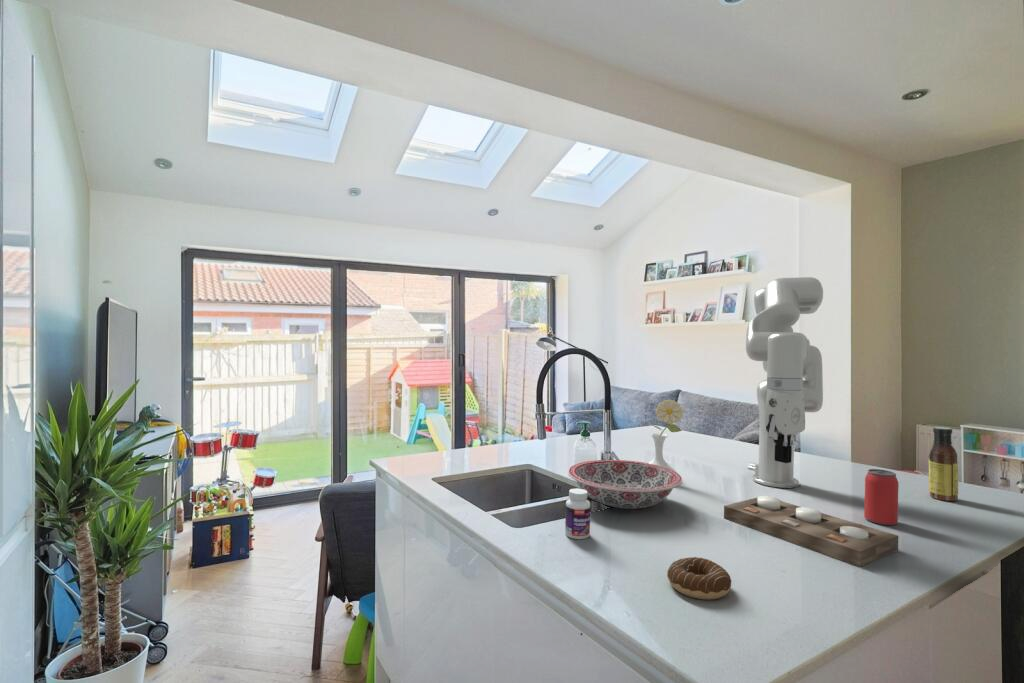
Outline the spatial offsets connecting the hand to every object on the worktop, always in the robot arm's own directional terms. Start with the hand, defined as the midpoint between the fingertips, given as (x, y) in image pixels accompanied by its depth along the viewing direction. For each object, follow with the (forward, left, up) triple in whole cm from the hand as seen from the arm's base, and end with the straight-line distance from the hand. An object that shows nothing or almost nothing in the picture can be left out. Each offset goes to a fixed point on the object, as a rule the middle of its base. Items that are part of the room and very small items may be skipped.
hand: (782, 461), depth 121 cm
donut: (+11, -44, -15) cm, 48 cm away
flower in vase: (-40, +2, -15) cm, 42 cm away
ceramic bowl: (-29, -24, -15) cm, 40 cm away
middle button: (+6, 0, -12) cm, 13 cm away
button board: (+6, -2, -15) cm, 16 cm away
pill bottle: (-18, -48, -15) cm, 53 cm away
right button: (+16, 0, -13) cm, 21 cm away
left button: (-3, 0, -12) cm, 12 cm away
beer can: (+11, +22, -15) cm, 29 cm away
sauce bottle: (+11, +58, -15) cm, 61 cm away
